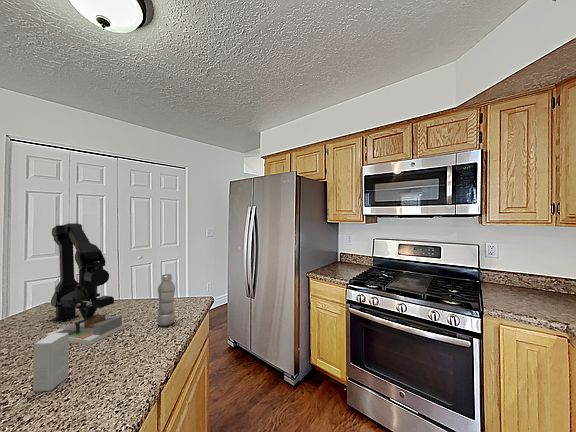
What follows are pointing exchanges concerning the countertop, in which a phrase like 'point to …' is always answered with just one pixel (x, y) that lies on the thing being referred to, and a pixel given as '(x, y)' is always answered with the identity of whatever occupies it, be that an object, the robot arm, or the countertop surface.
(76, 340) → the gauge base
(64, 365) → the skincare box
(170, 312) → the plastic bottle
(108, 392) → the countertop surface
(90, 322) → the slider
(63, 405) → the countertop surface
